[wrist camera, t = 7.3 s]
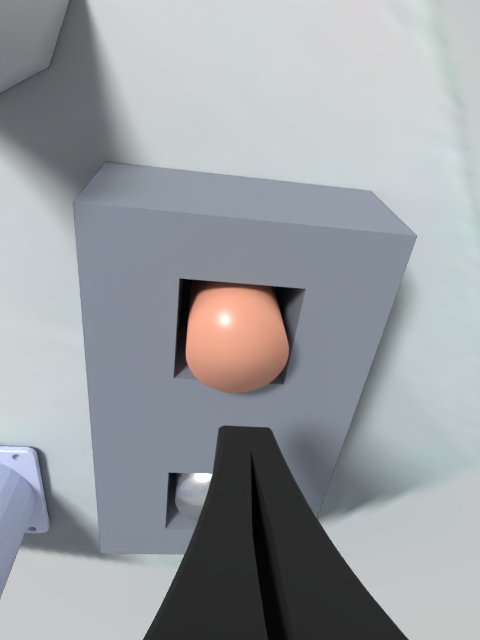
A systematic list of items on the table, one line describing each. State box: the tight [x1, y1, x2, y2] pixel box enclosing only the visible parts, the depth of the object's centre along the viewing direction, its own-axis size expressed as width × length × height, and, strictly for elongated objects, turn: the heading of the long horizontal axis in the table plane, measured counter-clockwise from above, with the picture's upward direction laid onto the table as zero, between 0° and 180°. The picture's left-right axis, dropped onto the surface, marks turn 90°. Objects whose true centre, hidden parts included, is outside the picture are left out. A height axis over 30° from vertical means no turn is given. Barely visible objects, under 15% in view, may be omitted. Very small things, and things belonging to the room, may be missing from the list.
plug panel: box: [73, 162, 417, 554], centre depth 21 cm, size 11×19×5 cm, turn 173°
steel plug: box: [175, 473, 212, 521], centre depth 24 cm, size 4×4×4 cm
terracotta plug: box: [186, 280, 289, 393], centre depth 17 cm, size 4×4×4 cm
